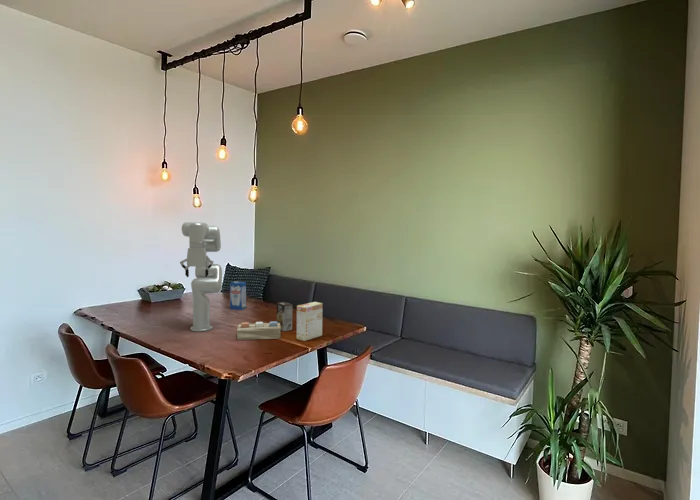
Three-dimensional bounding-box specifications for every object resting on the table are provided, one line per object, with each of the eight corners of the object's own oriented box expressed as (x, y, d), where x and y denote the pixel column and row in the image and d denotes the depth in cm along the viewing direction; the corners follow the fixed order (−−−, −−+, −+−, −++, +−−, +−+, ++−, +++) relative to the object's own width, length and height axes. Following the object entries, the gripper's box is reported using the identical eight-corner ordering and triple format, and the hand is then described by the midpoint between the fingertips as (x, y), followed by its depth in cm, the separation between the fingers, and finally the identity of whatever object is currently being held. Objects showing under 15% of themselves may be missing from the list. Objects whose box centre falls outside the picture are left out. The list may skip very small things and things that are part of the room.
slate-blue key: (269, 328, 238) (269, 321, 238) (276, 327, 239) (276, 321, 238) (269, 330, 234) (269, 323, 234) (276, 329, 235) (276, 323, 235)
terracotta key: (241, 329, 235) (241, 322, 234) (248, 328, 236) (248, 322, 235) (241, 331, 231) (241, 324, 231) (248, 330, 232) (248, 323, 231)
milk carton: (229, 309, 302) (229, 282, 301) (234, 307, 308) (234, 281, 307) (241, 310, 300) (241, 283, 298) (246, 308, 306) (246, 282, 304)
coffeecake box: (314, 333, 243) (314, 301, 242) (322, 335, 239) (323, 303, 237) (295, 338, 232) (296, 305, 230) (304, 341, 227) (304, 307, 226)
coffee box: (276, 328, 253) (276, 302, 252) (285, 326, 257) (285, 301, 256) (283, 331, 246) (283, 305, 245) (292, 329, 250) (292, 304, 249)
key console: (238, 334, 239) (238, 324, 238) (279, 332, 243) (279, 322, 243) (237, 340, 227) (237, 329, 226) (280, 338, 232) (280, 328, 231)
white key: (255, 328, 236) (255, 321, 236) (262, 328, 237) (262, 321, 237) (255, 330, 233) (255, 323, 232) (262, 330, 233) (262, 323, 233)
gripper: (213, 245, 227) (214, 275, 228) (180, 245, 222) (181, 276, 223) (212, 246, 219) (213, 277, 221) (178, 246, 215) (179, 278, 216)
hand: (197, 276), depth 222 cm, fingers open, 9 cm apart
